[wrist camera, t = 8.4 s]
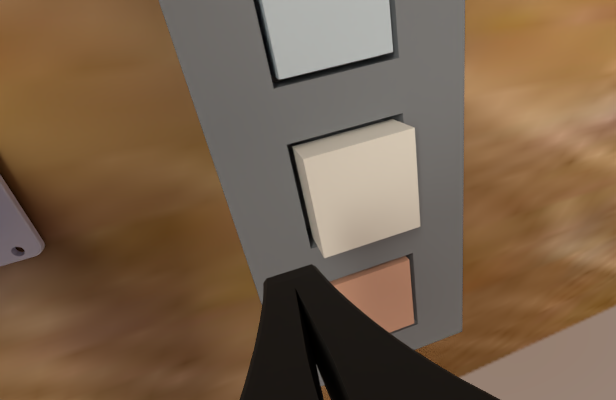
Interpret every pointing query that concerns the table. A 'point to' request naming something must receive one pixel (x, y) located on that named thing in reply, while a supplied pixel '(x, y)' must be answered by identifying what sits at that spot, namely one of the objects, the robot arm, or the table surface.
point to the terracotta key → (381, 293)
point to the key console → (326, 122)
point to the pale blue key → (322, 33)
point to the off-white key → (360, 185)
